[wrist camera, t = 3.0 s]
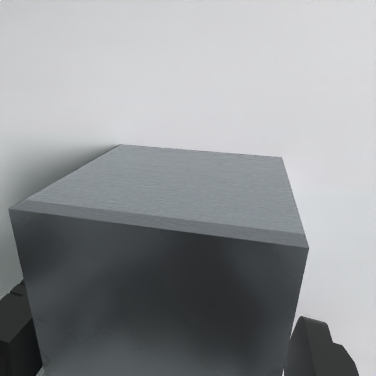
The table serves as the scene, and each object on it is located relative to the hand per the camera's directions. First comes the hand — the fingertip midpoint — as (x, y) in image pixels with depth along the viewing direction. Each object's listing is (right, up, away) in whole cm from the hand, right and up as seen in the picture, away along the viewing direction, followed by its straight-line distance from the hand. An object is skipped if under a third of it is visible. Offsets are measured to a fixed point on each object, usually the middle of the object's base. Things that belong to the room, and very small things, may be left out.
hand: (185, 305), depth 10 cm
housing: (0, +1, +1) cm, 1 cm away
